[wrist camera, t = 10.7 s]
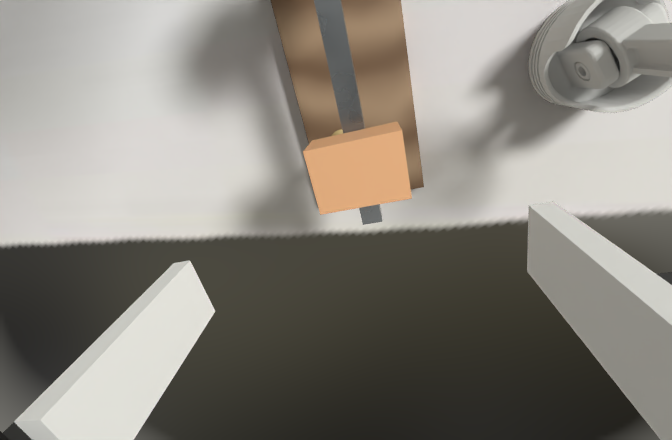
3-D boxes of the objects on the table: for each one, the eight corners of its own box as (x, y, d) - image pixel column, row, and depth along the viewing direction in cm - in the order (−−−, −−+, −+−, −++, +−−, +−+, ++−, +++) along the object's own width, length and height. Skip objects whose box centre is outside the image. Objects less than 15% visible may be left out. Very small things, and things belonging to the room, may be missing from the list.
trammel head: (325, 123, 34) (302, 151, 22) (389, 108, 33) (402, 130, 21) (336, 167, 36) (320, 214, 24) (397, 155, 35) (411, 198, 23)
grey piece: (276, -86, 27) (201, -214, 15) (355, -115, 26) (343, -281, 14) (343, 193, 38) (331, 253, 26) (401, 182, 37) (417, 239, 24)
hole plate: (246, -104, 28) (239, -115, 26) (379, -155, 26) (380, -170, 24) (326, 200, 40) (325, 205, 39) (421, 182, 38) (424, 187, 36)
